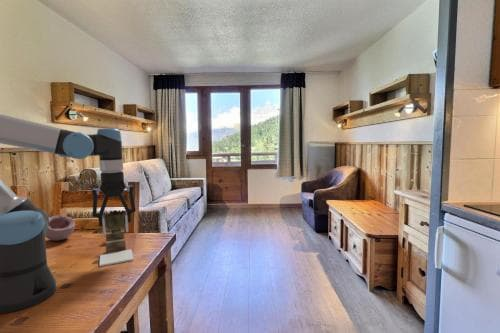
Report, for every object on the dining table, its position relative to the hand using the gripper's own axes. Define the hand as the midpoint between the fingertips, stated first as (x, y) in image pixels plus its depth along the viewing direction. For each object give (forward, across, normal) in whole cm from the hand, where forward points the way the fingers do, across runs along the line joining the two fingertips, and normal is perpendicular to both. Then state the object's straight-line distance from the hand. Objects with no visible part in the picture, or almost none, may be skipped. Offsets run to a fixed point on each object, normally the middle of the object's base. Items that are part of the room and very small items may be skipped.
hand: (116, 232), depth 101 cm
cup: (0, 0, 0) cm, 0 cm away
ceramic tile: (+10, 0, 0) cm, 10 cm away
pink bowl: (+10, +22, -34) cm, 42 cm away
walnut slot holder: (+10, 0, -14) cm, 17 cm away
